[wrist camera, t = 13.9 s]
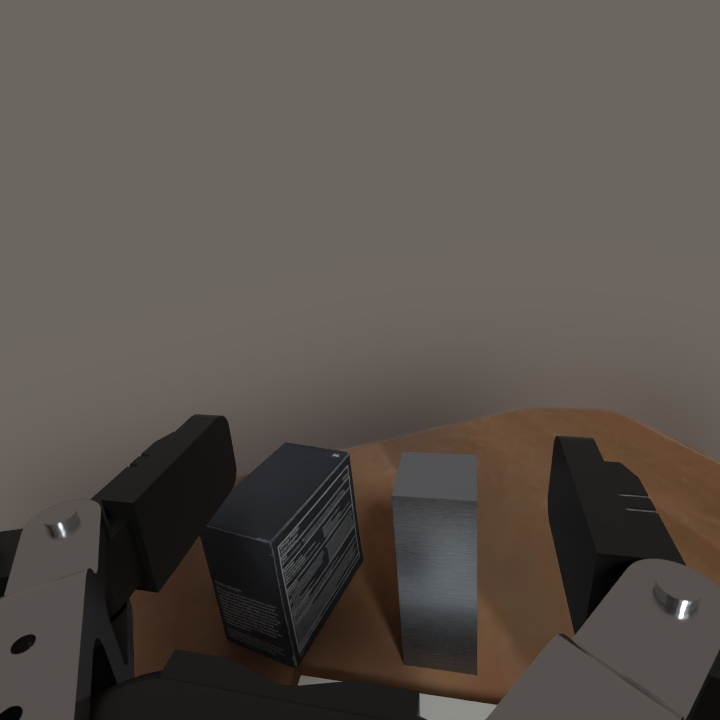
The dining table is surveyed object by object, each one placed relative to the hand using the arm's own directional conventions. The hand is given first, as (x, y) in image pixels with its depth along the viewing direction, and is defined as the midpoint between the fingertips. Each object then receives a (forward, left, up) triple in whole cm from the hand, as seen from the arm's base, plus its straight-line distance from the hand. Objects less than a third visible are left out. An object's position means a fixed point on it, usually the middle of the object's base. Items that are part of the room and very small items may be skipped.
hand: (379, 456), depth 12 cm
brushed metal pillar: (0, +14, -23) cm, 27 cm away
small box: (-11, +16, -23) cm, 30 cm away
